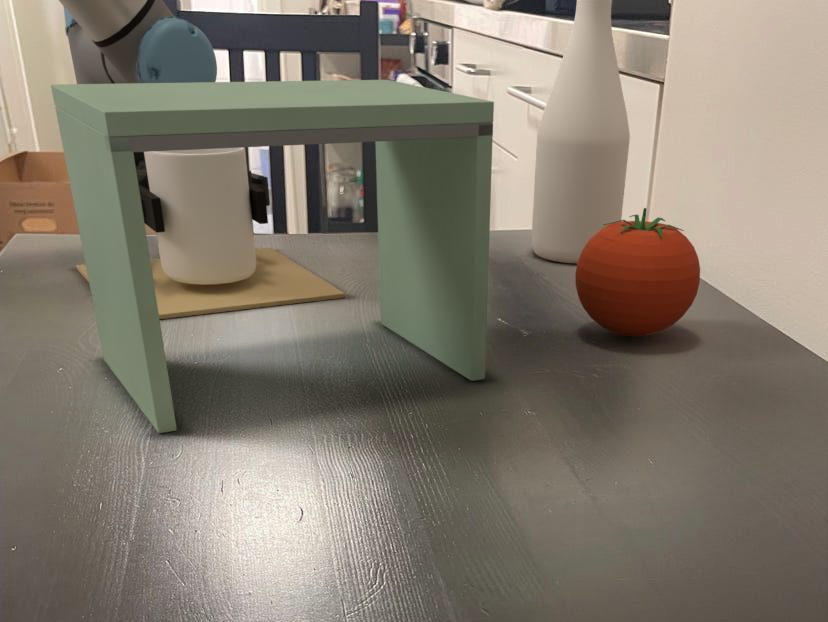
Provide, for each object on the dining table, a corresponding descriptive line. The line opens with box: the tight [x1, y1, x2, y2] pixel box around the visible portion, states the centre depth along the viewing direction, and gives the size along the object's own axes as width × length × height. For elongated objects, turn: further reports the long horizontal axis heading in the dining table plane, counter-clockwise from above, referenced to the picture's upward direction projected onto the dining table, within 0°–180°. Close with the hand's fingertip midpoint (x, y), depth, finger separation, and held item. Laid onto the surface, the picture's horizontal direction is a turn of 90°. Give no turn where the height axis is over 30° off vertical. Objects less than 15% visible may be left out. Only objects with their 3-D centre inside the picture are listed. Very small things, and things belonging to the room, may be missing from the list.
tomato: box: [574, 207, 701, 337], centre depth 80 cm, size 10×10×10 cm
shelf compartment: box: [50, 79, 495, 434], centre depth 67 cm, size 24×16×18 cm, turn 120°
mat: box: [75, 247, 346, 320], centre depth 92 cm, size 20×20×1 cm
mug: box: [144, 147, 256, 285], centre depth 89 cm, size 9×12×11 cm
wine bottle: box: [530, 0, 631, 264], centre depth 98 cm, size 10×10×30 cm
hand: (211, 211), depth 85 cm, fingers closed on mug, 9 cm apart
